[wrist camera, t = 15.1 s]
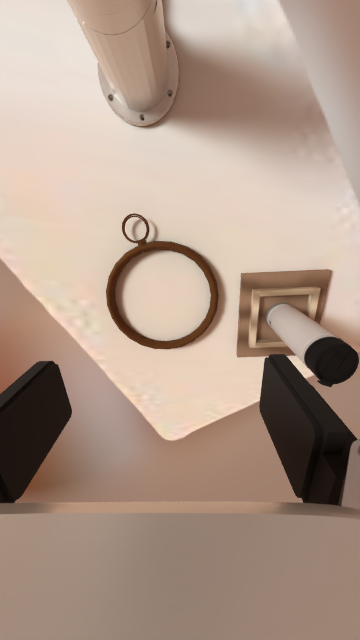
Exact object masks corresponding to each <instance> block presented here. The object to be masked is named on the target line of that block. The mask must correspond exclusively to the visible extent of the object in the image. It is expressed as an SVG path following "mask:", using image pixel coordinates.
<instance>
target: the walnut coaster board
mask: <svg viewBox="0 0 360 640" xmlns="http://www.w3.org/2000/svg"><path fill="white" fill-rule="evenodd" d="M330 273H331V270H306V271H284V272H261V273H241V287H240V305H239V322H238V340H237V357H258V356H269V355H270V354H285V355H286V356H290V355H296V354H295V353H294V352H293V351H292V350H291V349H290V348H289V347H288V346H287V345H286V344H285V342H284V341H283V340H282V339H281V338H280V337H279V336H278V335H277V334H276V333H275V332H274V331H273V329H272V328H271V327H270V326H269V325H268V324H267V322H266V314H267V312H268V310H269V309H270V308H271V307H272V306H273V305H275V304H278V303H287V304H289V305H291V306H292V307H294V308H295V309H297V310H298V311H300V312H301V313H303V314H304V315H306V316H307V317H309V318H310V319H312V320H313V321H315V322H316V323H318V324H319V325H320V320H321V315H322V311H323V306H324V301H325V296H326V292H327V287H328V282H329V277H330Z"/></svg>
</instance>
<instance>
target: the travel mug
mask: <svg viewBox="0 0 360 640" xmlns="http://www.w3.org/2000/svg"><path fill="white" fill-rule="evenodd" d="M266 322H267V324H268V325H269V326H270V327H271V328H272V329H273V331H274V332H275V333H276V334H277V335H278V336H279V337H280V338H281V339H282V340H283V341H284V342H285V344H286V345H287V346H288V347H289V348H290V349H291V350H292V351H293V352H294V353H295V354H296V356H297V357H298V358H299V359H300V360H301V361H302V362H303V363H304V364H305V365H306V366H307V367H308V368H309V369H310V370H311V371H312V372H313V373H314V374H315V375H316V376H317V378H318V379H319V380H320V381H319V380H318V382H319V383H320V384H322V385H325V386H328V387H331V386H332V385H333V384H338V383H341V382H344V381H345V380H347V379H349V378H350V377H351V376H352V375H353V374H354V372H355V371H356V369H357V366H358V363H359V358H358V354H357V352H356V351H355V350H354V349H353V348H352V347H351V346H350V345H348V344H347V343H345V342H344V341H343V340H341V339H340V338H338V337H337V336H336V335H334V334H333V333H331V332H330V331H328V330H327V329H325V328H324V327H322V326H321V325H319V324H318V323H316V322H315V321H313V320H312V319H310V318H309V317H307V316H306V315H304V314H303V313H301V312H300V311H298V310H297V309H295V308H294V307H292V306H291V305H289V304H287V303H278V304H275V305H273V306H272V307H271V308H270V309H269V310H268V312H267V314H266Z"/></svg>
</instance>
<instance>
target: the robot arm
mask: <svg viewBox="0 0 360 640" xmlns="http://www.w3.org/2000/svg"><path fill="white" fill-rule="evenodd" d="M67 1H68V3H69V5H70V7H71V9H72V11H73V13H74V15H75V17H76V19H77V21H78V23H79V25H80V27H81V29H82V31H83V33H84V35H85V37H86V39H87V41H88V43H89V45H90V47H91V49H92V51H93V53H94V55H95V57H96V59H97V61H98V76H99V81H100V86H101V89H102V91H103V94H104V96H105V98H106V100H107V102H108V104H109V105H110V107H111V108H112V110H113V111H114V112H115V113H116V114H117V115H118V116H119V117H120V118H121V119H122V120H124V121H125V122H127V123H130V124H132V125H136V126H147V125H151V124H153V123H155V122H157V121H159V120H160V119H161V118H162V117H164V116H165V115H166V113H167V112H168V111H169V109H170V108H171V106H172V104H173V102H174V99H175V96H176V93H177V88H178V81H179V69H178V60H177V54H176V51H175V48H174V45H173V43H172V41H171V39H170V37H169V35H168V33H167V32H166V31H165V27H164V17H163V7H162V0H67ZM167 48H169V49H167ZM169 95H171V97H169ZM112 99H113V101H111V100H112ZM143 118H144V120H143V121H142V119H143ZM260 413H261V415H262V418H263V420H264V422H265V425H266V427H267V429H268V432H269V434H270V436H271V439H272V441H273V443H274V446H275V448H276V450H277V453H278V455H279V458H280V460H281V462H282V465H283V467H284V469H285V472H286V474H287V476H288V479H289V481H290V484H291V486H292V488H293V491H294V493H295V495H296V496H297V497H298V498H302V500H303V503H284V502H74V503H73V502H70V503H69V502H65V503H14V502H15V501H16V500H17V499H19V498H20V497H21V496H22V494H23V493H24V491H25V490H26V488H27V487H28V485H29V483H30V482H31V480H32V478H33V477H34V475H35V474H36V472H37V470H38V469H39V467H40V465H41V464H42V462H43V461H44V459H45V458H46V456H47V454H48V453H49V451H50V450H51V448H52V446H53V444H54V443H55V442H56V440H57V438H58V437H59V435H60V433H61V432H62V430H63V429H64V427H65V425H66V424H67V422H68V421H69V419H70V417H71V414H72V409H71V405H70V402H69V399H68V396H67V393H66V389H65V386H64V382H63V379H62V376H61V373H60V369H59V367H58V365H57V364H55V363H54V362H53V361H39V362H37V363H36V364H34V365H33V366H32V367H31V368H30V369H29V370H28V371H26V372H25V373H24V374H23V375H22V376H21V377H20V378H18V379H17V380H16V381H15V382H14V383H13V384H11V385H10V386H9V387H8V388H7V389H6V390H5V391H3V392H2V393H1V394H0V640H360V439H357V438H356V437H355V436H354V435H353V434H352V432H351V431H350V430H349V429H348V428H347V426H346V425H345V424H344V423H343V422H342V420H341V419H340V418H339V417H338V416H337V414H336V413H335V412H334V411H333V410H332V409H331V408H330V406H329V405H328V404H327V403H326V401H325V400H324V399H323V398H322V397H321V396H320V394H319V393H318V392H317V391H316V390H315V388H314V387H313V386H312V385H310V384H309V383H308V381H307V380H306V379H305V378H304V377H303V375H302V374H301V373H300V372H299V371H298V369H297V368H296V367H295V366H294V365H293V363H292V362H291V361H290V360H289V359H288V357H287V356H286V355H285V354H270V355H269V358H265V362H264V370H263V379H262V388H261V397H260Z"/></svg>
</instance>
